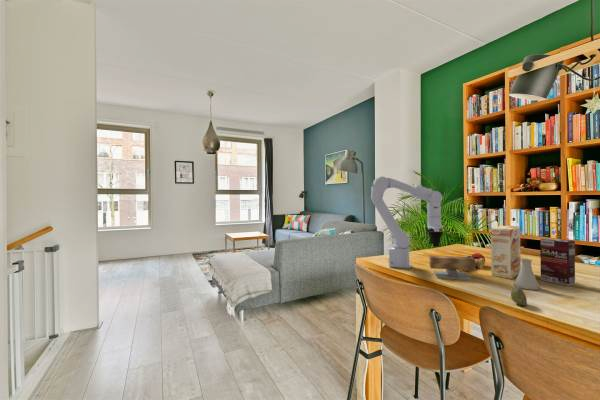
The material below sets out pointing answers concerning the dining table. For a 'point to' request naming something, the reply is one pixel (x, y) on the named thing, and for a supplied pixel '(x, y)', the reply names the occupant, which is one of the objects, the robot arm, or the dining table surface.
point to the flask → (526, 276)
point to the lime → (519, 296)
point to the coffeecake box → (505, 251)
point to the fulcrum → (452, 275)
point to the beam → (452, 263)
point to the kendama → (477, 260)
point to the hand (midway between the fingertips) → (434, 245)
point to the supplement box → (557, 261)
